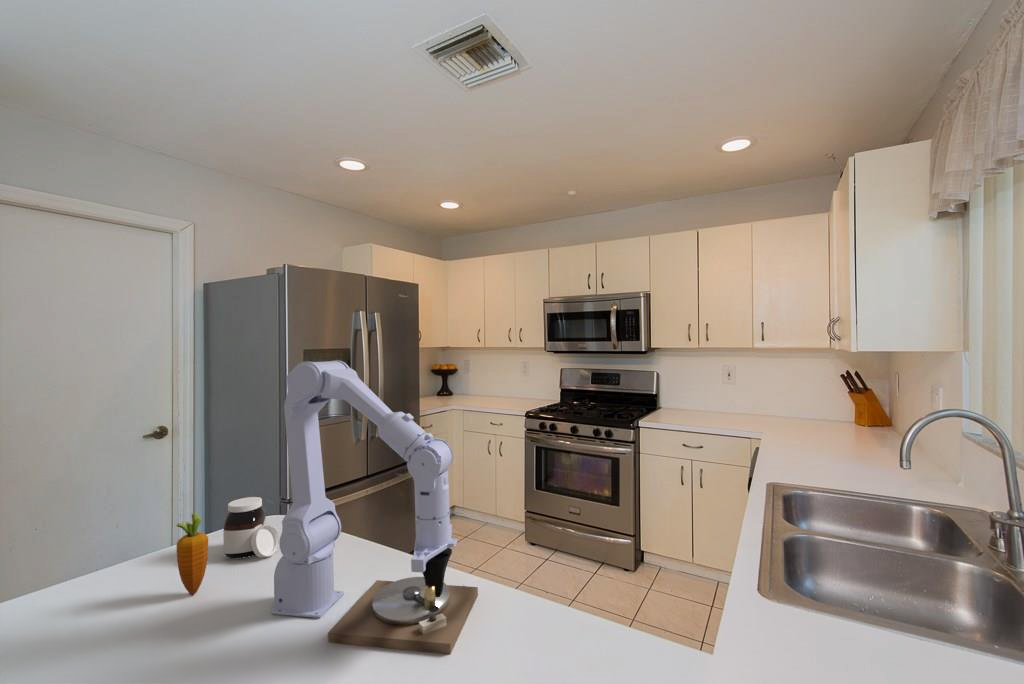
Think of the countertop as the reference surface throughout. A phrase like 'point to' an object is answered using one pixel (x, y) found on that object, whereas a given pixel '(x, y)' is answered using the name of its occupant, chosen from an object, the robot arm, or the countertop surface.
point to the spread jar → (248, 530)
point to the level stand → (421, 636)
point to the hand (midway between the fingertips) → (434, 595)
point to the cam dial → (409, 601)
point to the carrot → (192, 555)
